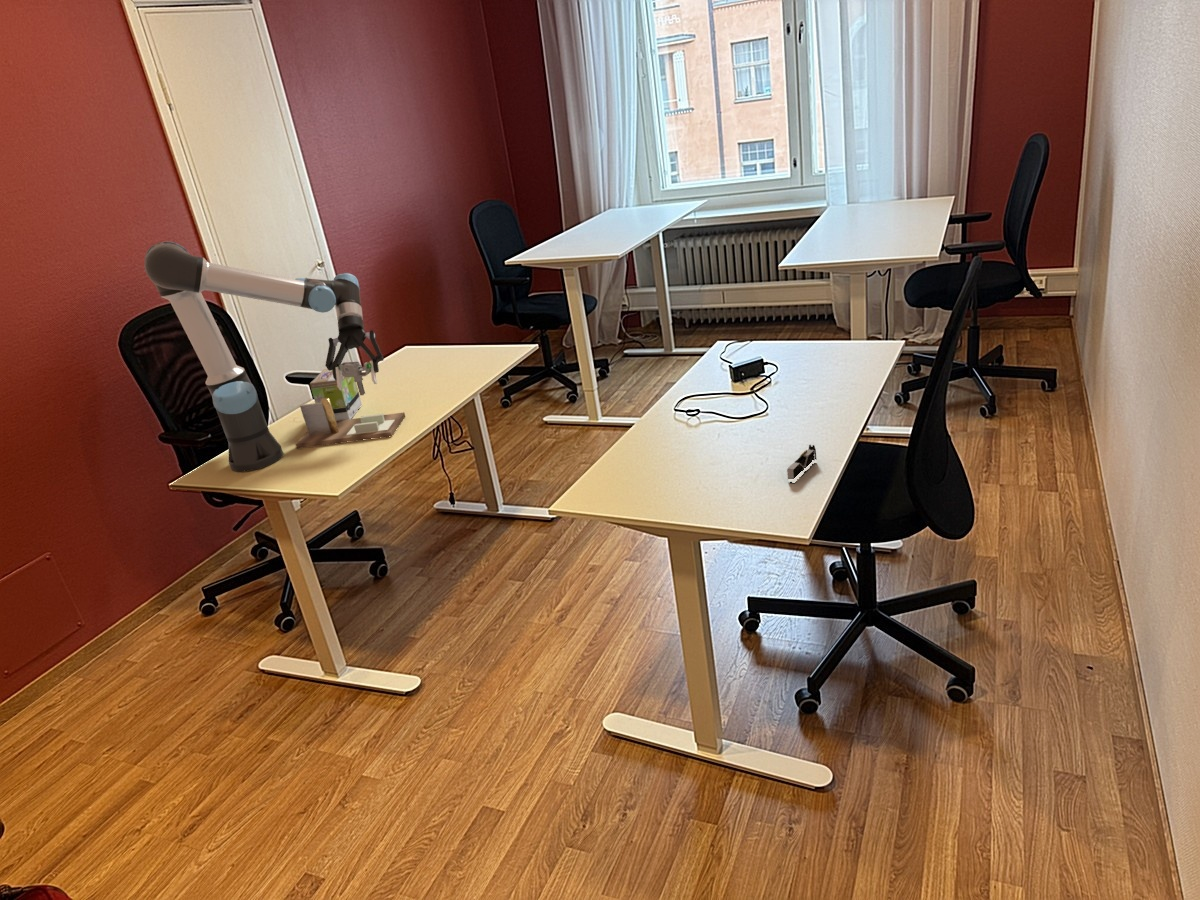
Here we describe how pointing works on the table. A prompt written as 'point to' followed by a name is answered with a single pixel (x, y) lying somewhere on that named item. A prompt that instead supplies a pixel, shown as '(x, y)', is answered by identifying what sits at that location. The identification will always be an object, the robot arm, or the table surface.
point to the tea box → (337, 394)
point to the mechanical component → (355, 372)
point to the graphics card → (801, 462)
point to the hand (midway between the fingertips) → (357, 385)
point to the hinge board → (343, 426)
